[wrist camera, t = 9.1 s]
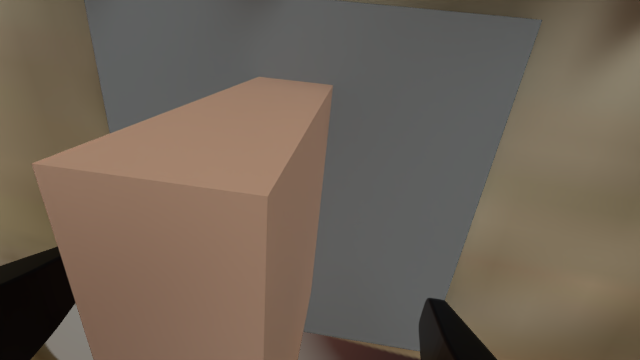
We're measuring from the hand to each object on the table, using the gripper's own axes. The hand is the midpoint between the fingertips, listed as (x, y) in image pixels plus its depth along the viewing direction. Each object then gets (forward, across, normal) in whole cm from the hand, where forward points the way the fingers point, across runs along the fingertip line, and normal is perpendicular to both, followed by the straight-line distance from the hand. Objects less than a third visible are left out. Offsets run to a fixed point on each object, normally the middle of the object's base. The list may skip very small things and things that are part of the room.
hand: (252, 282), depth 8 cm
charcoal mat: (+5, 0, 0) cm, 5 cm away
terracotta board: (+4, 0, 0) cm, 5 cm away
